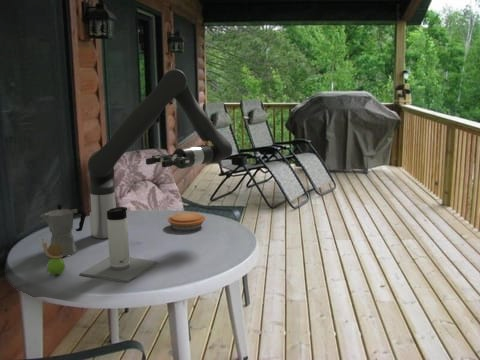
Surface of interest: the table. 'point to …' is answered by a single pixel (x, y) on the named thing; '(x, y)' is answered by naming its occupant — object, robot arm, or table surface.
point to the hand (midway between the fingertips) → (154, 163)
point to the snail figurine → (54, 257)
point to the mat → (124, 275)
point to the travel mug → (118, 238)
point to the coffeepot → (64, 227)
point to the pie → (186, 221)
